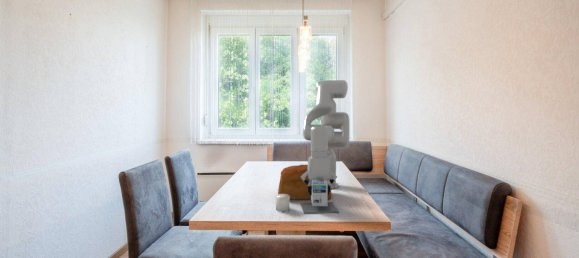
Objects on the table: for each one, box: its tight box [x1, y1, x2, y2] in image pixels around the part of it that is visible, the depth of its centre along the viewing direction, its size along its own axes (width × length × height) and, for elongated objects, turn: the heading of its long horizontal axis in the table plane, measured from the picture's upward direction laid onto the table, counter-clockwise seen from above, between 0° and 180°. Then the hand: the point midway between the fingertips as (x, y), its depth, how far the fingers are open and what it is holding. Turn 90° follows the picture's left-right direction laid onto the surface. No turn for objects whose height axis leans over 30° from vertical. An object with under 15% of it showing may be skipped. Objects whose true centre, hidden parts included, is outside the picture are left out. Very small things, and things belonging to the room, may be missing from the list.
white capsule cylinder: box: [275, 193, 291, 213], centre depth 119 cm, size 6×6×6 cm
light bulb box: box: [311, 180, 329, 206], centre depth 120 cm, size 11×7×11 cm, turn 179°
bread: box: [277, 164, 333, 201], centre depth 138 cm, size 16×27×16 cm, turn 89°
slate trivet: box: [299, 201, 340, 215], centre depth 121 cm, size 12×15×1 cm
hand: (318, 193), depth 120 cm, fingers closed on light bulb box, 7 cm apart
